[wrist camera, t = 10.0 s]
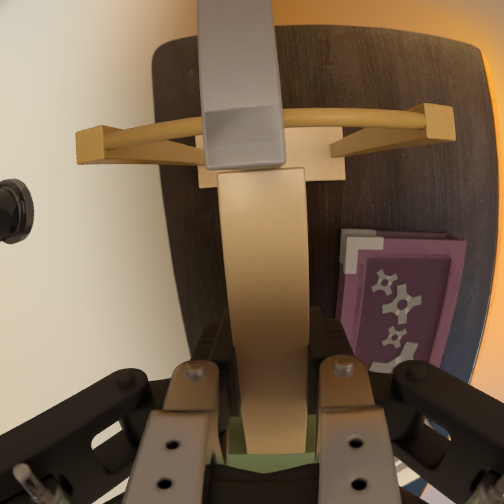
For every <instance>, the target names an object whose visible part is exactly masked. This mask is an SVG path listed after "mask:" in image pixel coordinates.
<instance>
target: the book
mask: <svg viewBox="0 0 504 504" xmlns="http://www.w3.org/2000/svg"><path fill="white" fill-rule="evenodd" d="M466 245H467V241H466V240H463V239H461V238H459V237H457V236H454V235H452V234H450V233H433V232H406V231H375V230H374V229H341V242H340V258H339V262H340V270H339V282H338V293H337V304H336V314H335V319H336V320H338V321H339V322H341V323H342V325H343V328H344V330H345V333H346V335H347V338H348V340H349V343H350V345H351V348H352V350H353V353H354V356H355V357H358V358H360V359H361V360H363V361H364V363H365V364H366V367H367V370H370V371H373V372H378V373H391V374H393V372H394V369H395V367H396V366H397V365H398V364H399V363H401V362H403V361H407V360H422V361H426V362H428V363H430V364H432V365H434V366H436V367H438V368H439V366H440V362H441V359H442V356H443V353H444V349H445V346H446V342H447V339H448V335H449V331H450V327H451V324H452V320H453V315H454V311H455V307H456V302H457V298H458V293H459V288H460V282H461V277H462V271H463V265H464V259H465V252H466Z"/></svg>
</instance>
